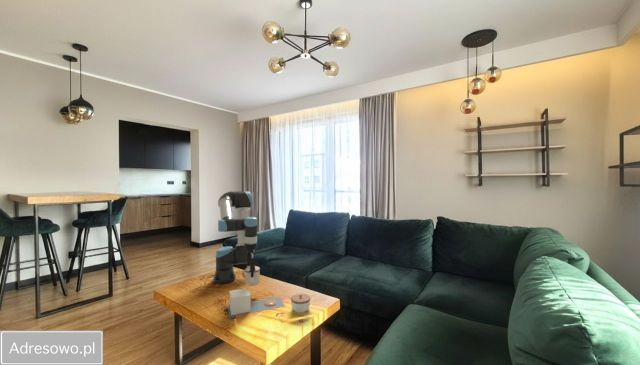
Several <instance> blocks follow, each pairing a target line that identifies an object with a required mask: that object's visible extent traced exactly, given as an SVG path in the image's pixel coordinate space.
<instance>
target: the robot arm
mask: <svg viewBox="0 0 640 365" xmlns="http://www.w3.org/2000/svg"><path fill="white" fill-rule="evenodd" d="M253 203H254V202H253V195H252V193H251V192H250V191H245V190H244V191H240V190H239V191H227V192H224V193H223V194H222V195H220V197H219V199H218V202H217V204H218V208H219V212H220V219H219V220H218V222H217V231H218V232H220V233H222V232H223V233H226V232H228V233H229V232H237V244H236V245H235V247H233V246H231V245H230V246H229V245H228V246H223V247H220V248H218V249H217V250H216V252H215V271H214V275H213V277H212V278H213V279H212V281H213V283H214V284H216V285H225V284H229V283H232V282H234V281H235V280H236V274H235V270H234V266H235V265H242V264H243V265H244V264H246V268H247V267H249V266H250V271H249V272H250V283H251V282H254V271H255V266H256V261H255V260H256V259H255V256H256V255H255V250H257V249H258V218H257V217H256V216H250V210H251V209H252V208H251V207H252V206H254V204H253ZM233 207H234V210H235V211H236V215H237V216H236V217H237V218H234V215H233V210H232V208H233ZM252 269H253V270H252Z"/></svg>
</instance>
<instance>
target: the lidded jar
mask: <svg viewBox="0 0 640 365" xmlns="http://www.w3.org/2000/svg"><path fill="white" fill-rule="evenodd" d="M290 304H291V309H292V310H293V311H294V312H295V313H299V314H300V313H301V314H302V313H306V312H307V311H308V310H309V309H310V305H311V296H310V295H309V294H307V293H296V294H293V295H291V297H290Z"/></svg>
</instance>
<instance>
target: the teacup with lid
mask: <svg viewBox="0 0 640 365" xmlns="http://www.w3.org/2000/svg"><path fill="white" fill-rule="evenodd" d="M252 270H253V269H252ZM249 271H250V266H249V267H247V266H246V268H245V269H244V270H242V272H241V275H242V277H243V278H244V284H245V285H246V286H248V287H254V286H257V285H259V284H260V281H261V280H260V278H261V276H260V274H261V273H260V272H261V268H260V267H259V266H256V265H255V271H254V282H251V283H250V272H249Z"/></svg>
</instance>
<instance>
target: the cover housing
mask: <svg viewBox="0 0 640 365" xmlns="http://www.w3.org/2000/svg"><path fill="white" fill-rule="evenodd" d="M251 298H252V297H251V293H250V290H249V288H247V287H246V288H239V289H233V290H229V306H230V312H231V315H236V314H241V313H246V312H251V302H252V300H251Z"/></svg>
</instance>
